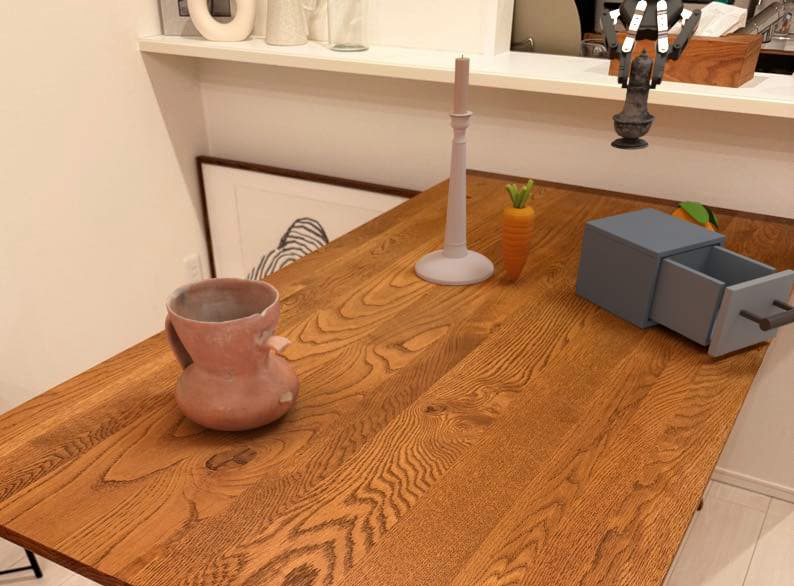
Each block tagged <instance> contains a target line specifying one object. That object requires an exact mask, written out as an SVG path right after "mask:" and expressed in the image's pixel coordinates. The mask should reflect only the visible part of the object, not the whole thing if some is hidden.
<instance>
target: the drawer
mask: <svg viewBox="0 0 794 586" xmlns="http://www.w3.org/2000/svg"><path fill="white" fill-rule="evenodd" d="M776 271H777V268H776V267H773V266H771V265H769V264H766V263H764V262H761V261H759V260H755V259H753V258H750V257H748V256H745V255H742V254H740V253H738V252H735V251H733V250H729V249H727V248H725V247H723V248H722V247H720V246H717V245H714V244H713V245H709V246H705V247H701V248H697V249H693V250H689V251H685V252H681V253H677V254H673V255H669V256H666V257H662V258H661V260H660V264H659V269H658V274H657V278H656V283H655V288H654V292H653V297H652V302H651V306H650V311H649V316H648V318H650V319H652V320H654V321H656V322H658V323H660V324H659V325H662V326H664V327H666V328H668V329H670V330H672V331H674V332H676V333H678V334H679V335H682V336H684V337H686V338H688V339H690V340H691V341H693V342H695V343H697V344H700V345H702V346H704V347H707V346H708V345H709V346H708V351H707V354H708V355H709V356H711V357H714V358H716V357H719V356H722V355H725V354H728V353H731V352H735V351H738V350H740V349H743V348H746V347H750V346H753V345H755V344H759V343H762V342H764V341H768V340H771V339H774V338H776V337H777V334H778V331H779V328H781V327H784V326H787V325H790V324H793V323H794V306H793V305H791V304H789V303H788V301H789V298H790V295H791V292H792V289H793V286H794V270H792V269H786V270H783V271H779V272H776Z"/></svg>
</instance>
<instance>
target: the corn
mask: <svg viewBox="0 0 794 586" xmlns="http://www.w3.org/2000/svg"><path fill="white" fill-rule="evenodd" d="M671 215H672V216H674V217H677V218H680V219H682V220H685V221H688V222H690V223H693V224H696V225H698V226H701V227H704V228H707V229H709V230H712V231H715V229H714V227H715V228H716V230H717V232H719V231H720V229H719V221H718V218H717V216H716V214H715V213H714V212H713V210H712V209H711V208H710V207H709V206H708V205H706V204H702V203H700V202H698V201H691V200H685V201H683V202H679V203H678V204H677V209H675V210H674V211H673V212H672V213H671ZM712 225H713V226H714V227H713V226H712Z"/></svg>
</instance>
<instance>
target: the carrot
mask: <svg viewBox="0 0 794 586" xmlns="http://www.w3.org/2000/svg"><path fill="white" fill-rule="evenodd" d="M534 184H535V183H534V180H533V179H528V182H527V183H526V185H522V187H521V189H520V190H519V191H518V188H517V185H516V183H513V184H512V185H511V184H510V183H507V184H506V185H505V188H504V189H506V192H507V193H508V195H509V197H510V200H511V202H512V204H511V205H508V206H506V207H505V208H504V209H503V211H502V216H501V252H502V259H503V264H504V267H505V271H506V273H507V277H508V279H509V280H510V281H511V282H512V283H514V282H515V281H516V280H518V278H519V276H520V275H521V273H522V272H523V270H524V268H525V266H526V263H527V260H528V257H529V254H530V251H531V246H532V242H533V235H534V229H535V222H536V214H535V211H534V208H533V207H532V206H530V205H528V204H526V203H527V201H528V200H529V199H530V197H531V196H532V193H531V191H532V188H533V185H534Z"/></svg>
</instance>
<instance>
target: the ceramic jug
mask: <svg viewBox="0 0 794 586" xmlns="http://www.w3.org/2000/svg"><path fill="white" fill-rule="evenodd" d="M165 306H166V311H167V315H166V317H165V321H164V333H165V337H166V341H167V343H168V346H169V348H170V350H171V352H172V354H173V355H174V357H175V359H176V361H177V362H178V364H179V366H180V368H181V369H182V372H181V374H180V375H179V376H178V378H177V380H176V383H175V385H174V390H173V391H174V392H173V397H174V401H175V403H176V405H177V407H178V409H179V411H180V412H181V413H182V415H184V417H185V418H187V419H188V420H190V421H191V422H193V423H194V424H195V425H198V426H201V427H204V428H205V429H210V430H214V431H222V432H243V431H249V430H253V429H259V428H262V427H264V426H266V425H269V424H271V423H274V422H275V421H277V420H279V419H280V418H282V417H283V416H284V415H286V414H287V413H288V412H289V411H290V410H291V409H292V408H293V407H294V405H295V403H296V401H297V399H298V396H299V393H300V379H299V376H298V373H297V370H295V368H294V367H293V366H292V365H291V364H290V363H289V362H287V360H285V359H283V358H282V357H280V356H278V355H283V354H284V352H285V351H286V349H287V348H288V347H290V346H291V345H292V342H291V341H290V340H289V339H288V338H287V337H284V336H281V335H275V330H276V328H277V326H278V323H279V320H280V319H279V318H280V311H281V297H280V292H279V291H278V289H277V288H276V287H275V286H274V285H272V284H271V283H268V282H266V281H264V280H263V281H262V280H258V279H251V278H240V277H214V278H212V277H211V278H203V279H200V280H195V281H194V282H188V283H186V284H182V285H181V286H179V287H177V288H176V289H175V290H174V291H173V292H171V293H170V294H169V295H168V297H167V298H166V305H165ZM271 350H273V351H274V352H276V354H274V353H271Z"/></svg>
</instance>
